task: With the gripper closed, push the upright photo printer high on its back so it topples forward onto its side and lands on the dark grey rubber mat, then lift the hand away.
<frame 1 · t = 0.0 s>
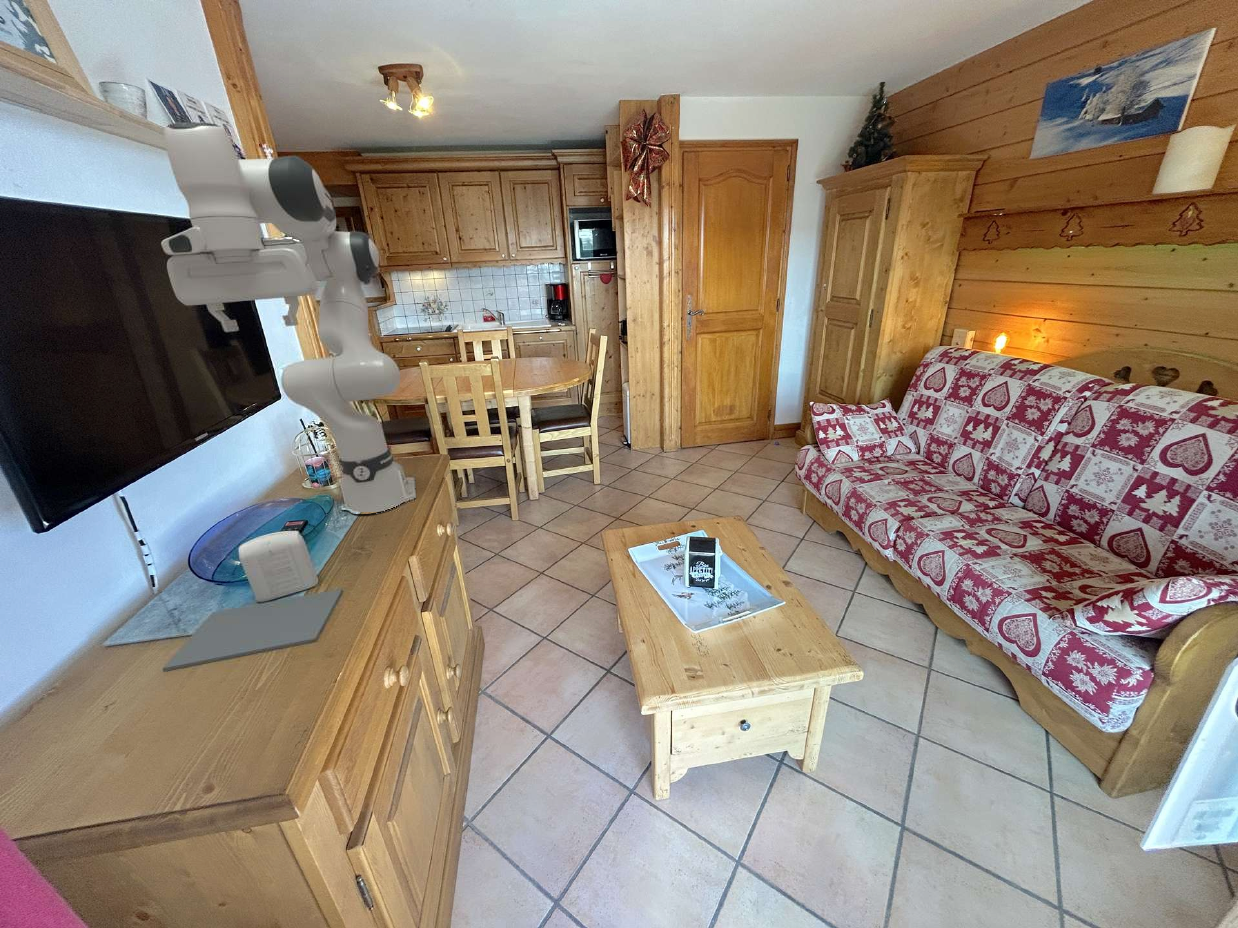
hand: (262, 328, 83), 48 cm above the sideboard, tool pointing down, fingers open, 8 cm apart
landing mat: (262, 627, 83), on the sideboard
photo printer: (289, 591, 93), on the sideboard
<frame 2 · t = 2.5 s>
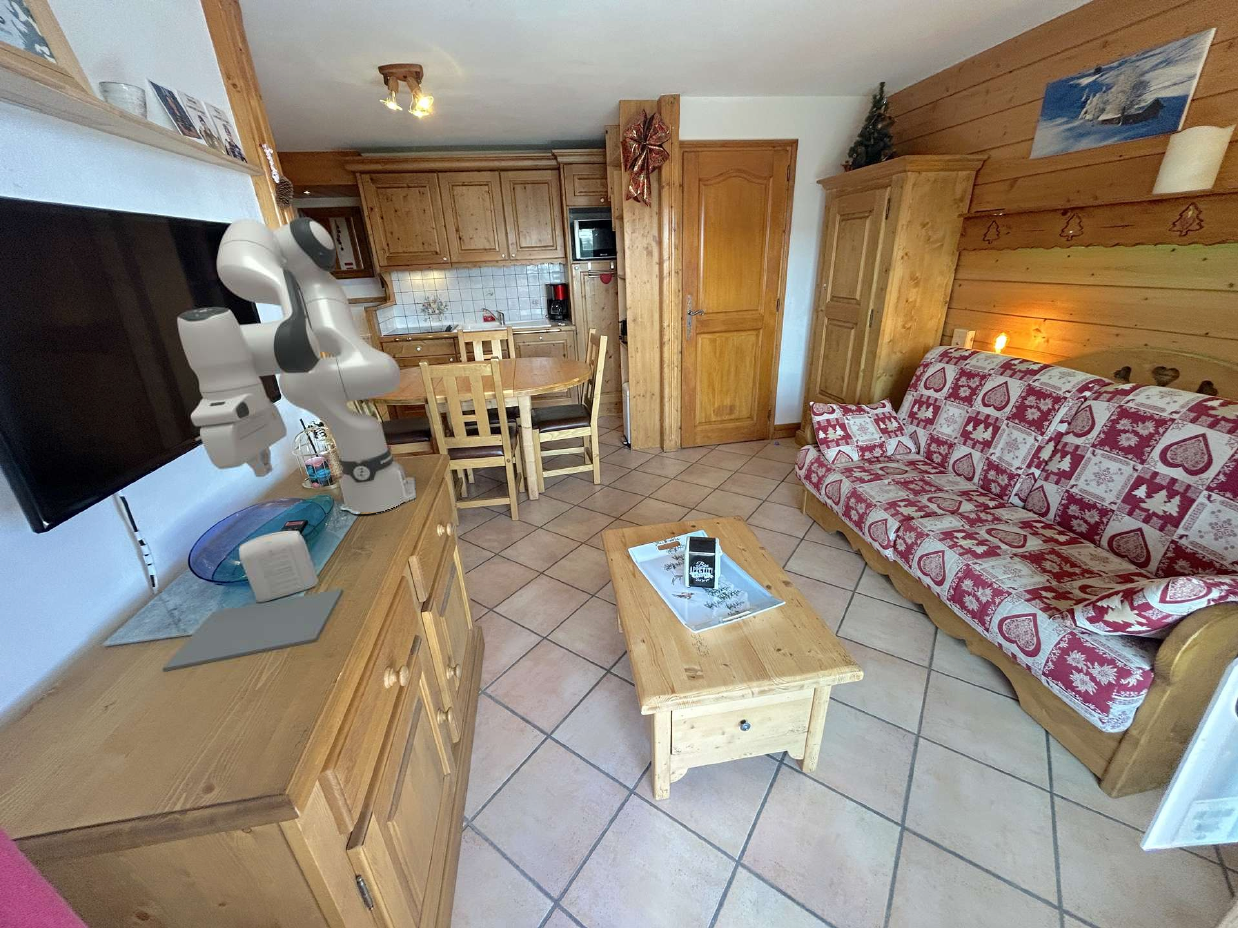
hand: (264, 474, 91), 22 cm above the sideboard, tool pointing down, fingers closed
nothing on the sideboard moved.
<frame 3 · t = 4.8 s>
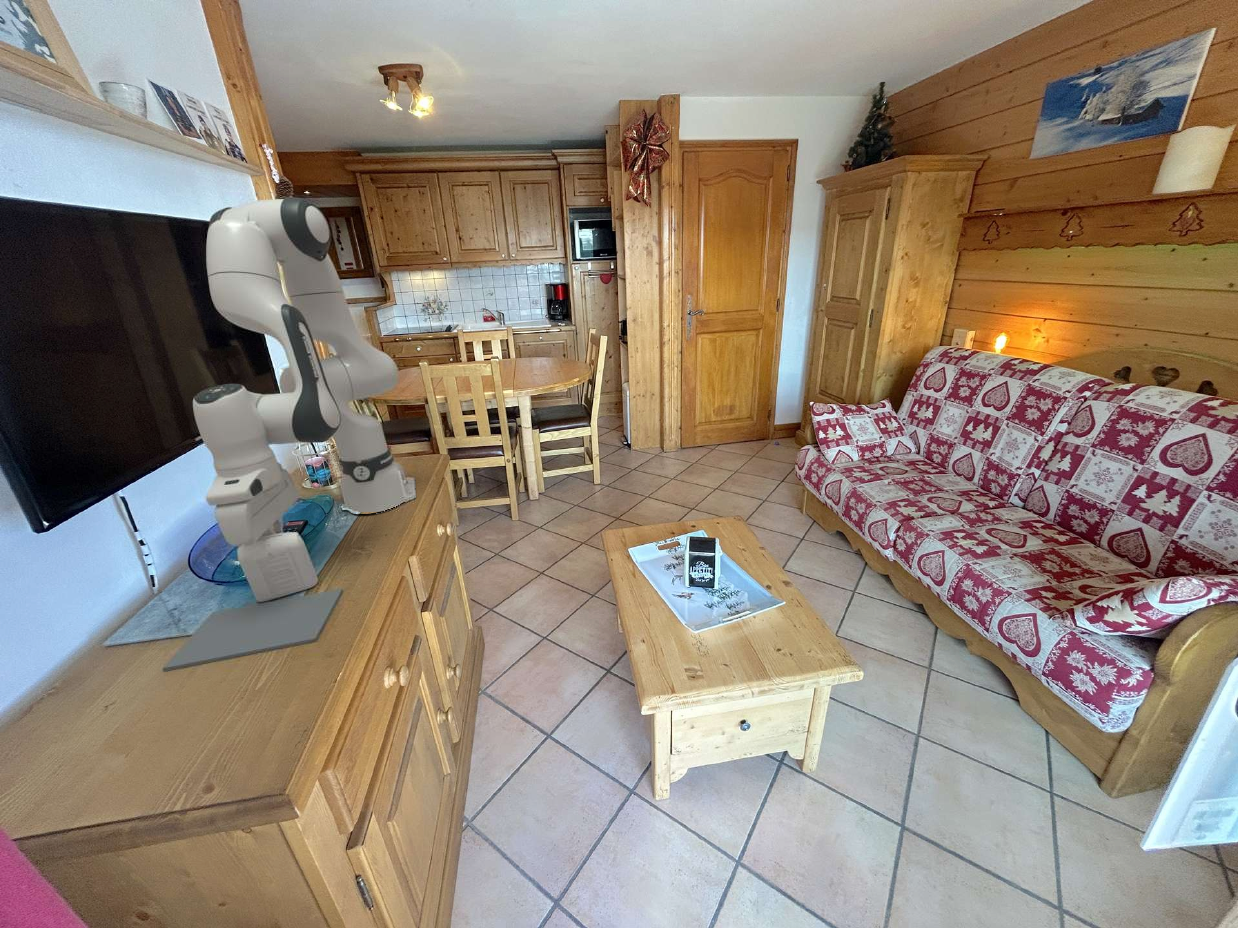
hand: (277, 542, 92), 9 cm above the sideboard, tool pointing down, fingers closed
photo printer: (289, 590, 93), on the sideboard, touching gripper
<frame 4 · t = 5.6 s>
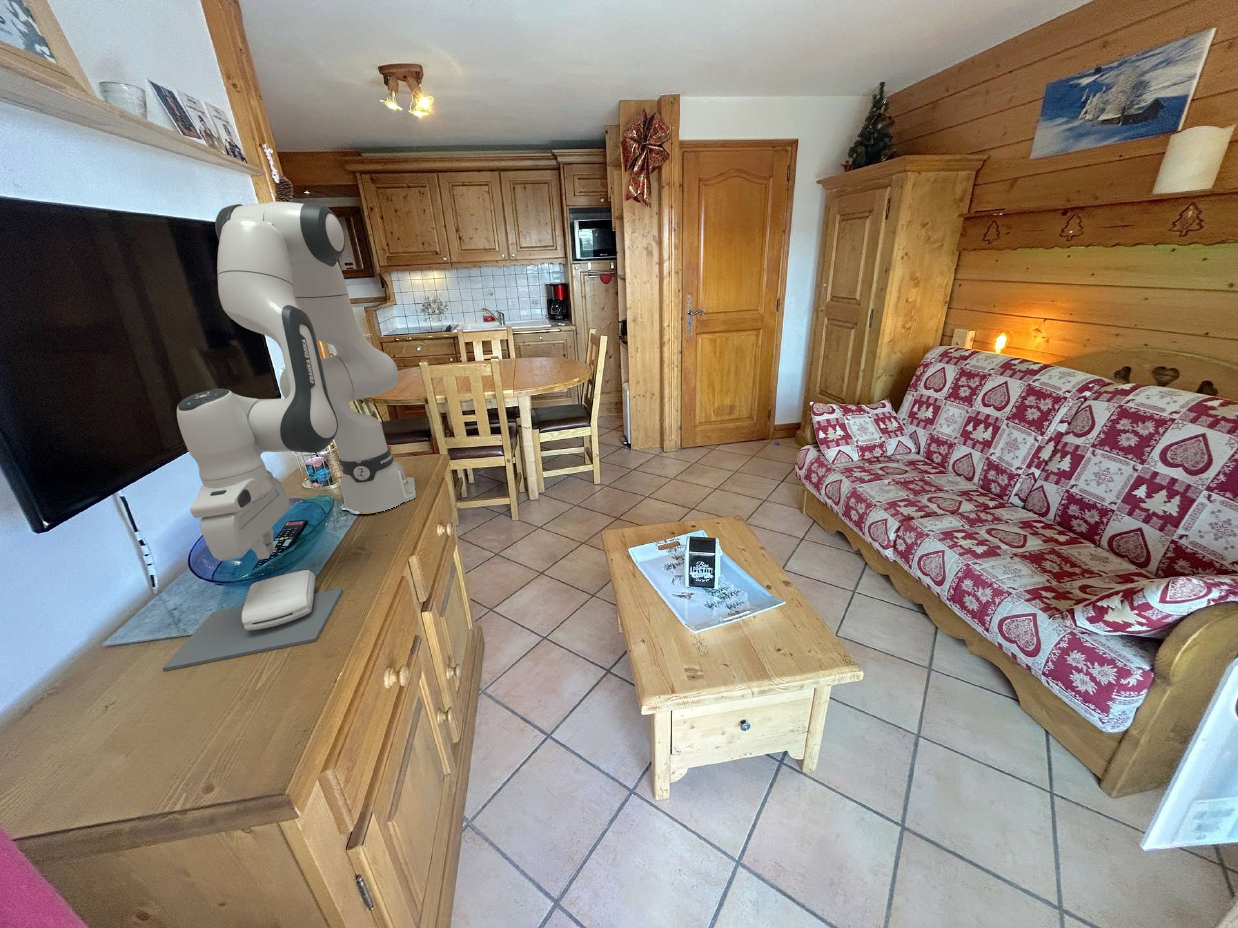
hand: (267, 554, 88), 9 cm above the sideboard, tool pointing down, fingers closed
photo printer: (284, 582, 91), point 3 cm above the sideboard, touching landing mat
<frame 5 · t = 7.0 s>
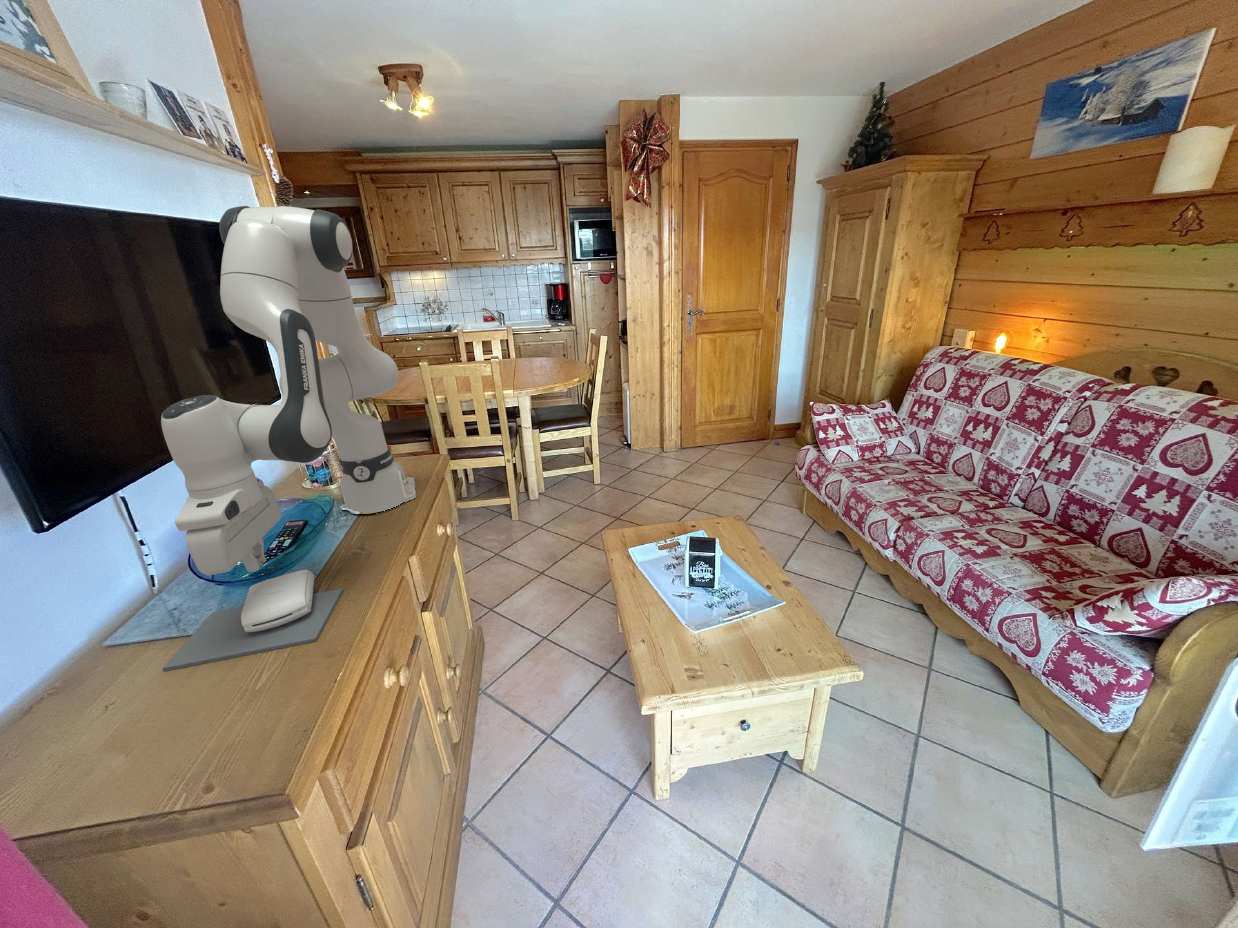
hand: (257, 567, 84), 9 cm above the sideboard, tool pointing down, fingers closed
nothing on the sideboard moved.
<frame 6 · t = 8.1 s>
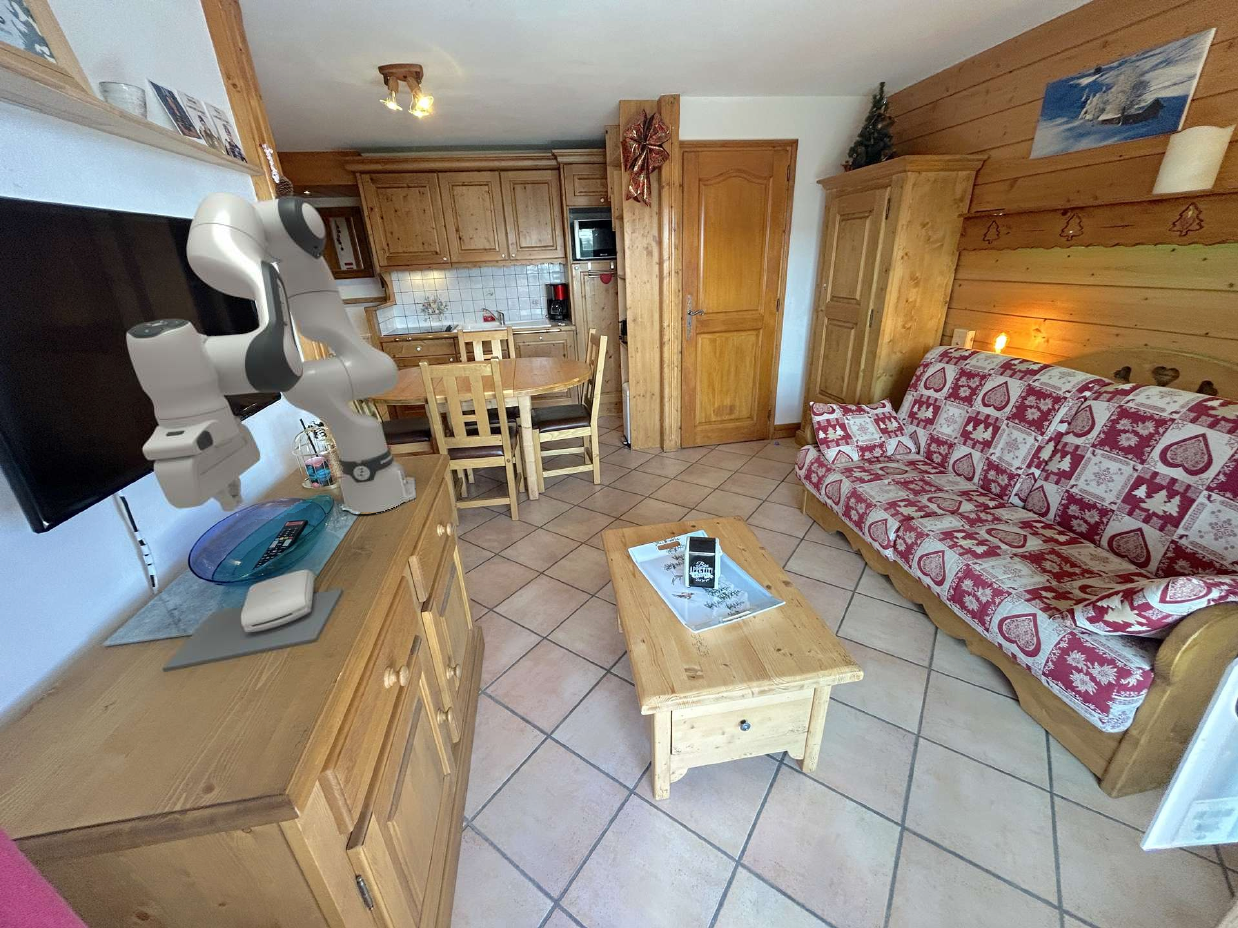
hand: (234, 507, 80), 21 cm above the sideboard, tool pointing down, fingers closed
nothing on the sideboard moved.
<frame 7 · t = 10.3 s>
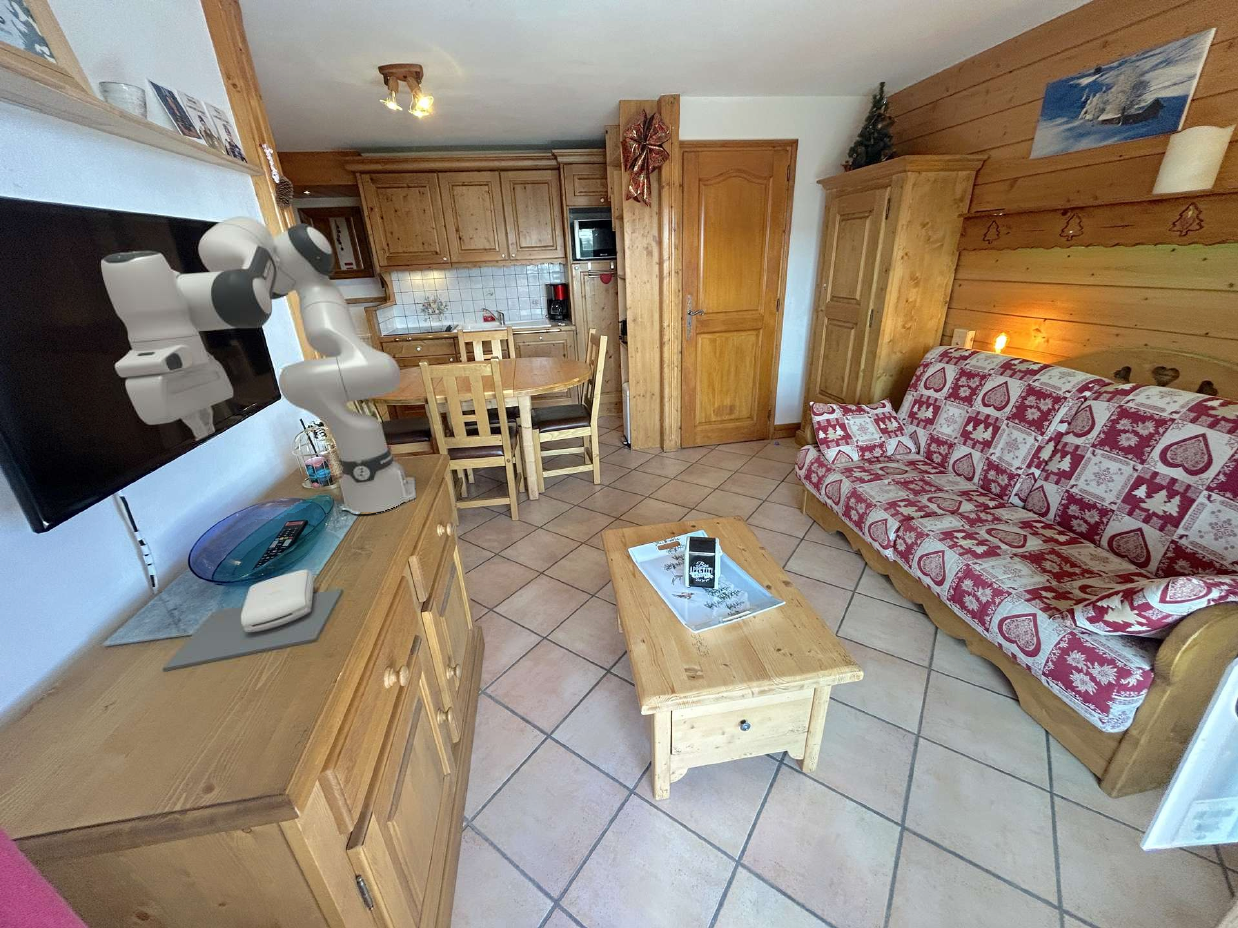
hand: (205, 435, 85), 31 cm above the sideboard, tool pointing down, fingers closed
nothing on the sideboard moved.
at the end: photo printer tilted 90°; photo printer touching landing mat; photo printer moved 2.9 cm from its start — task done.
